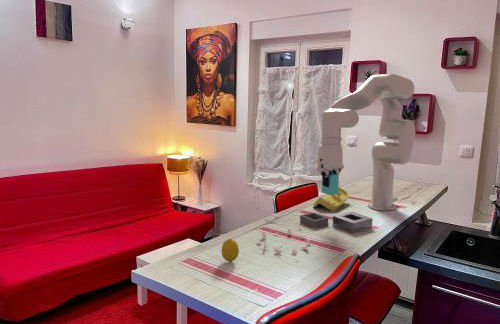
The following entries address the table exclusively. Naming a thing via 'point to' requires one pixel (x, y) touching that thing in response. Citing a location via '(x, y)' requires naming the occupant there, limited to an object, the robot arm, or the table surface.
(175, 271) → the table surface
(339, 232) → the table surface
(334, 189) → the plug
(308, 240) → the game piece set
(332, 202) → the plastic component
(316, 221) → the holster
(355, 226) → the port
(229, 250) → the lemon
